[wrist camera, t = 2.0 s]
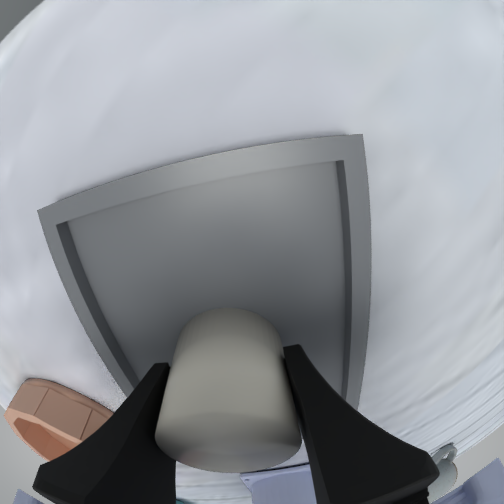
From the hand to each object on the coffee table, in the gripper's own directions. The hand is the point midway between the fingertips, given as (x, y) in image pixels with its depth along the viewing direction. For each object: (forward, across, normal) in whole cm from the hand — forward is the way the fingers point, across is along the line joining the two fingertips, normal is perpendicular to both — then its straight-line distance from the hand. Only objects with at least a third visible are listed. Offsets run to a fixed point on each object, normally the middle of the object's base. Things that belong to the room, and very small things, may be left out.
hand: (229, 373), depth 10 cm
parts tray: (+2, 0, 0) cm, 2 cm away
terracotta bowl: (+2, +15, +9) cm, 18 cm away
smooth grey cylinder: (+1, 0, 0) cm, 1 cm away
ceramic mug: (+2, -21, +34) cm, 40 cm away
